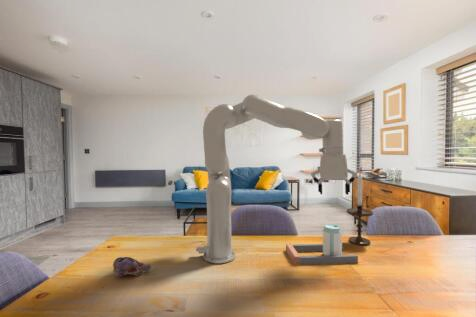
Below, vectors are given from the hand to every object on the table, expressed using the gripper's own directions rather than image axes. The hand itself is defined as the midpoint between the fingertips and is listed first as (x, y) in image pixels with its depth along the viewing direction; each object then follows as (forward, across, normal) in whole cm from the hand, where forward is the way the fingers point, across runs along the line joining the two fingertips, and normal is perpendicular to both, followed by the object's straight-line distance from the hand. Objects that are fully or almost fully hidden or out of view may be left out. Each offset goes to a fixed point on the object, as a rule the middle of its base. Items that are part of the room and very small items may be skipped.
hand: (333, 193), depth 99 cm
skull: (+23, -68, -36) cm, 80 cm away
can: (+25, -1, -1) cm, 25 cm away
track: (+25, -6, -3) cm, 25 cm away
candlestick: (+26, +12, +18) cm, 34 cm away
